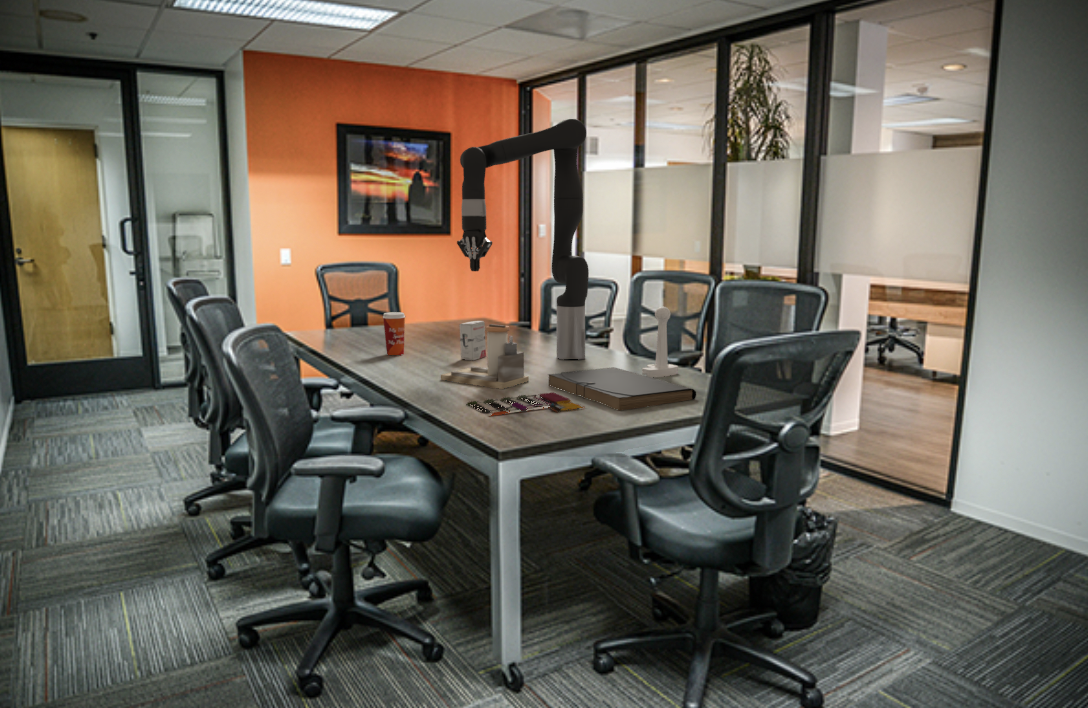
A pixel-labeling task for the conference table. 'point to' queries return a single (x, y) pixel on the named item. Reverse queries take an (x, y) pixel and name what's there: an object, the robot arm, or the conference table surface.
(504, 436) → the conference table surface
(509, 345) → the potentiometer
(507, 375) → the maple mount
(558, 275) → the robot arm
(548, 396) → the colourful patterned flat panel
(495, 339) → the lidded white jar
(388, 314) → the paper cup
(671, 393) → the brown book
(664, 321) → the joystick
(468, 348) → the ink box
